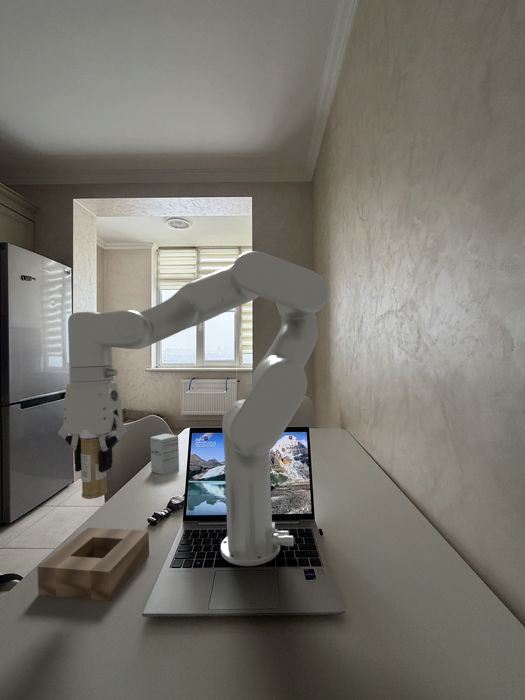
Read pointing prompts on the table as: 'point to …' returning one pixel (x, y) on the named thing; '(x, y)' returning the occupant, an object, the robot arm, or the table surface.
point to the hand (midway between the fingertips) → (93, 468)
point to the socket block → (94, 564)
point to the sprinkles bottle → (91, 467)
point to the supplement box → (164, 454)
